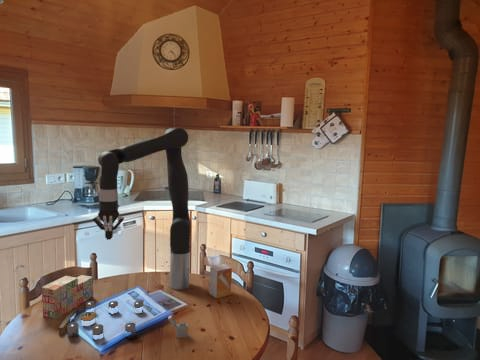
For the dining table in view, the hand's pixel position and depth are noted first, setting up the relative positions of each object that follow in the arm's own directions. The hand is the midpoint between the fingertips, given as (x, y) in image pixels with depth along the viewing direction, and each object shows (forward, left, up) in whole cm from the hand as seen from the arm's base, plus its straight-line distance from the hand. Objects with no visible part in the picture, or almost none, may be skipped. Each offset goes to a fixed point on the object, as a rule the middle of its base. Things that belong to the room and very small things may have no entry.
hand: (108, 239), depth 159 cm
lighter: (-32, +31, -27) cm, 52 cm away
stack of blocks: (+14, +7, -27) cm, 31 cm away
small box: (-49, -4, -27) cm, 56 cm away
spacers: (-5, +22, -27) cm, 35 cm away
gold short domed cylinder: (+3, +21, -27) cm, 34 cm away
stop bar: (+10, +21, -27) cm, 35 cm away
